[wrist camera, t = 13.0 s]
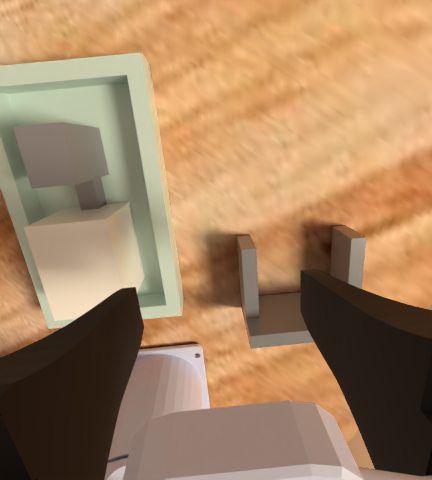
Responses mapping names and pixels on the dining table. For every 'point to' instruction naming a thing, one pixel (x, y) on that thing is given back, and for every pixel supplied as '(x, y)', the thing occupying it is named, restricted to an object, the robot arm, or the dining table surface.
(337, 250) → the bay
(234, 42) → the dining table surface
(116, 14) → the dining table surface
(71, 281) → the joined block pair
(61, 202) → the tray
